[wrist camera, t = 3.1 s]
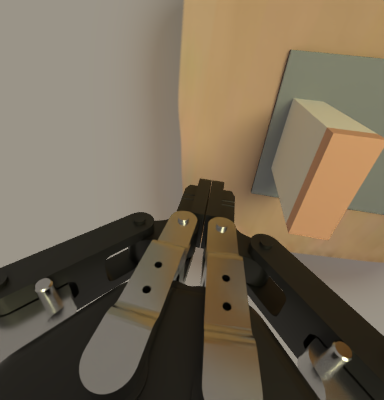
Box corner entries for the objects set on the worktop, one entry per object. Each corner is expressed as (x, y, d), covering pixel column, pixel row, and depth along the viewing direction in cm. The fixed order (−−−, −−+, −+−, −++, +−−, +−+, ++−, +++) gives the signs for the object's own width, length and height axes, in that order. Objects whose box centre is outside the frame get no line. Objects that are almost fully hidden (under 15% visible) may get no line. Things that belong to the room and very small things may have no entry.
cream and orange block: (323, 101, 22) (388, 140, 13) (296, 171, 27) (328, 240, 17) (293, 98, 23) (333, 133, 13) (271, 168, 27) (288, 233, 18)
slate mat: (502, 70, 19) (508, 70, 19) (392, 214, 28) (395, 216, 28) (290, 49, 21) (291, 49, 21) (251, 191, 30) (251, 193, 30)
